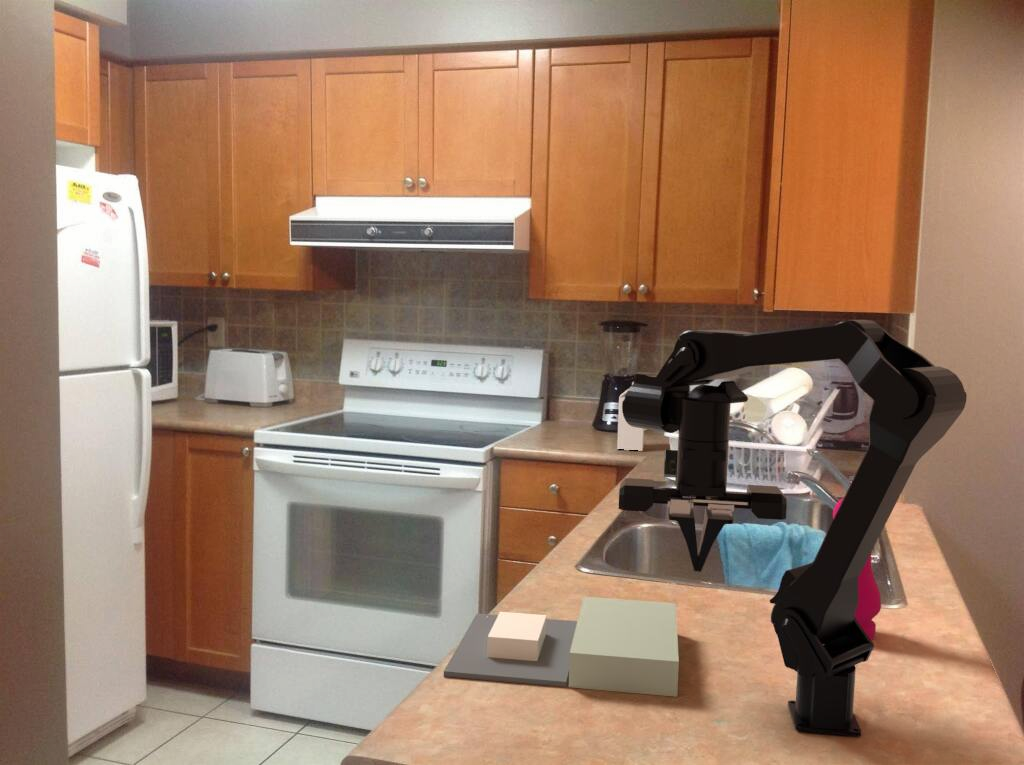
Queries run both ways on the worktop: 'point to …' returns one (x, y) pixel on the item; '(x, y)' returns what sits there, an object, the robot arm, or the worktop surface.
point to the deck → (625, 647)
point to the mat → (545, 671)
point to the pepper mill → (866, 595)
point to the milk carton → (628, 431)
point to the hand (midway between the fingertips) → (697, 570)
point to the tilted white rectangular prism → (517, 636)
